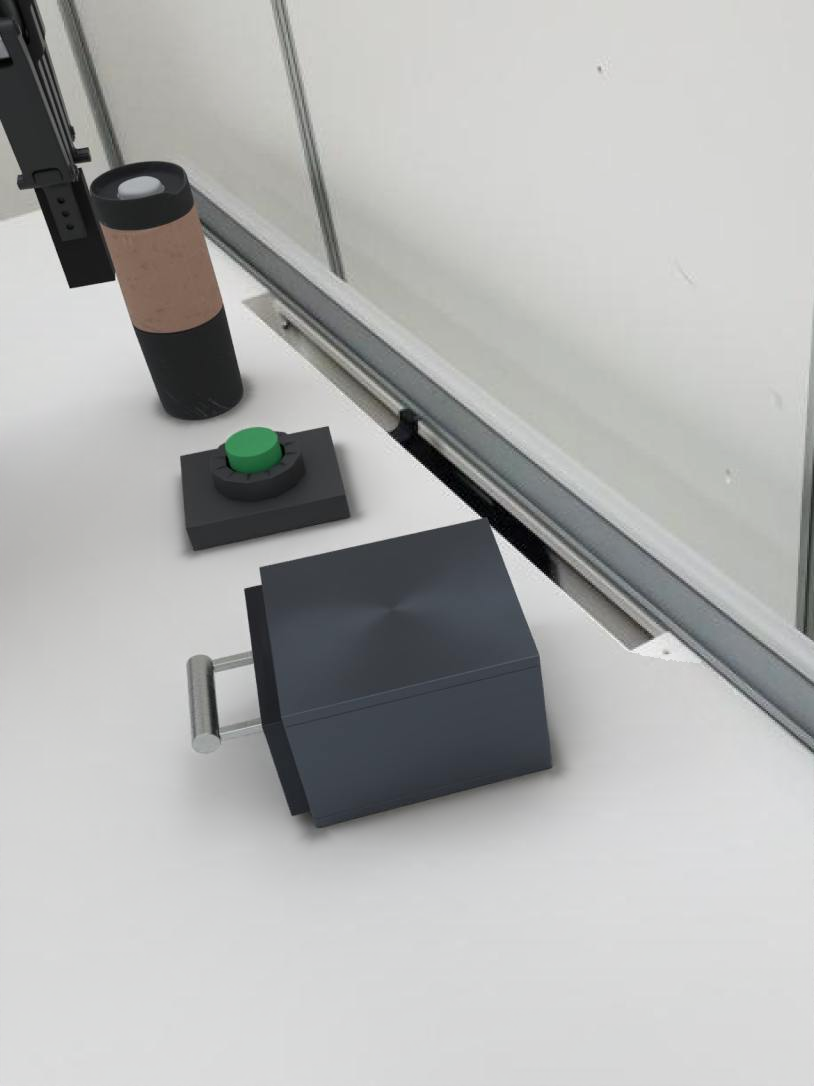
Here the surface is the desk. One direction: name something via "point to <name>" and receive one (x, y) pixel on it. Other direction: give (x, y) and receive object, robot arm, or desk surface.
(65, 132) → the robot arm
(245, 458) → the button
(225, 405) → the travel mug
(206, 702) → the drawer
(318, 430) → the panel
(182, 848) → the desk surface
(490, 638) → the cabinet
